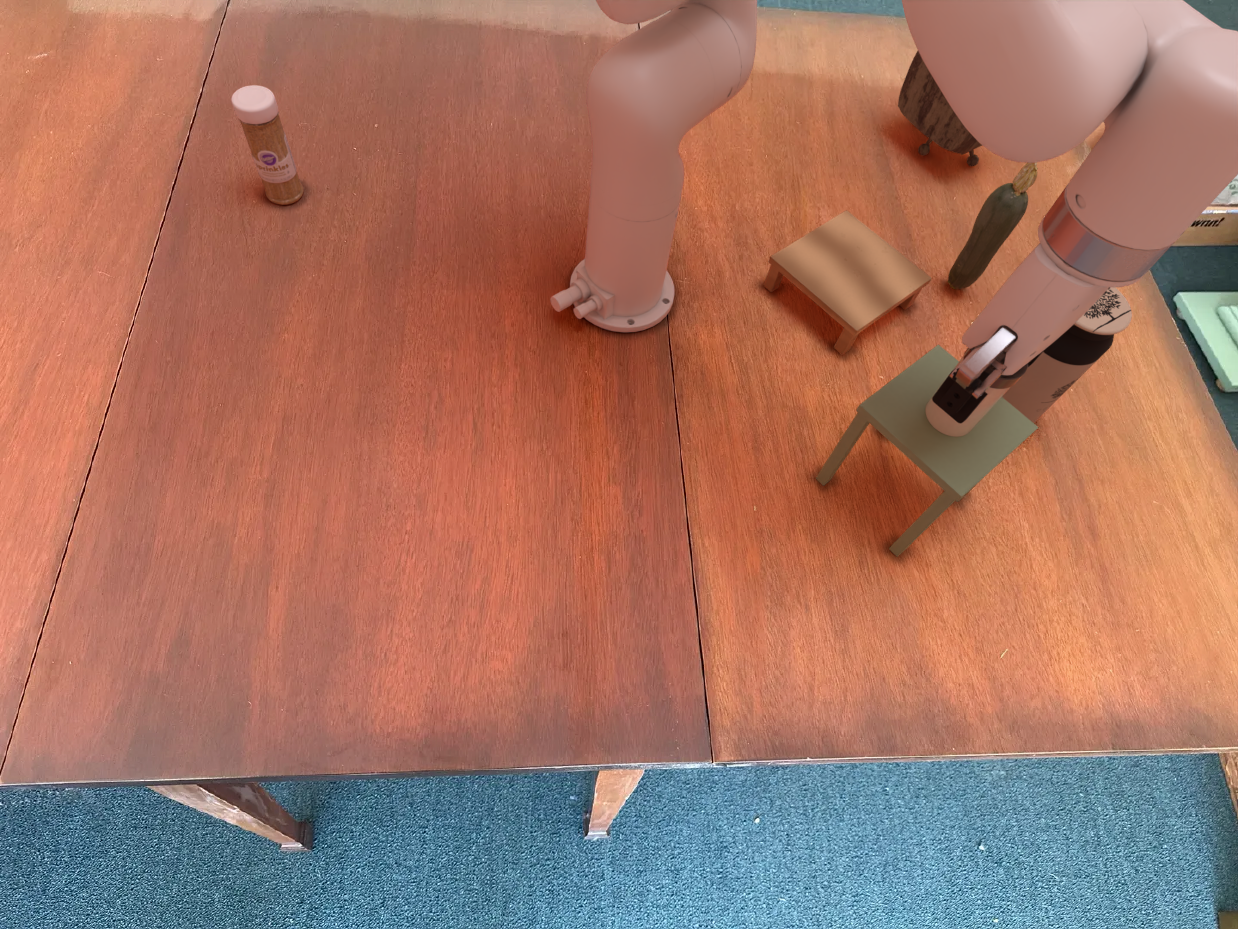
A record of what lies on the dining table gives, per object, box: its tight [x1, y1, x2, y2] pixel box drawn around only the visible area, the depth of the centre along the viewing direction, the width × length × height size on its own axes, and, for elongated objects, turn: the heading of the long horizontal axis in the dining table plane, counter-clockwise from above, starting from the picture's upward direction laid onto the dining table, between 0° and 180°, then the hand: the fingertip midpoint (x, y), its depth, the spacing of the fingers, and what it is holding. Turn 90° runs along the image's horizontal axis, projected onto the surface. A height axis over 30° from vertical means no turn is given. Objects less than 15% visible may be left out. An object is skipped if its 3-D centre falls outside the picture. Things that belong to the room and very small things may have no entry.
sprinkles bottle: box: [230, 84, 305, 206], centre depth 91 cm, size 5×5×14 cm
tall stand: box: [815, 344, 1039, 558], centre depth 78 cm, size 12×12×14 cm
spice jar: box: [925, 347, 1028, 437], centre depth 68 cm, size 5×5×9 cm
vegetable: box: [947, 162, 1039, 290], centre depth 91 cm, size 4×4×20 cm
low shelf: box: [763, 209, 933, 356], centre depth 95 cm, size 14×14×5 cm
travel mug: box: [1002, 287, 1133, 424], centre depth 83 cm, size 8×8×18 cm
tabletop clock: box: [897, 50, 983, 167], centre depth 103 cm, size 14×9×25 cm, turn 34°
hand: (981, 382), depth 67 cm, fingers open, 9 cm apart
